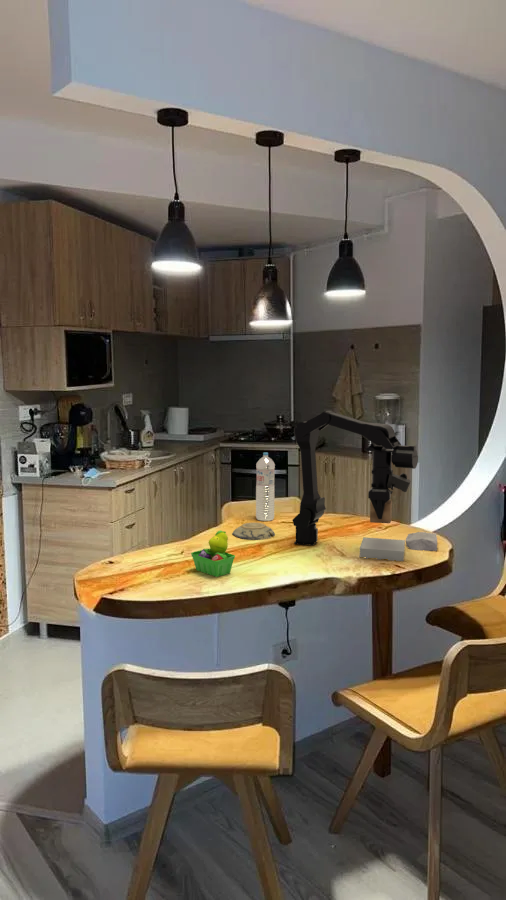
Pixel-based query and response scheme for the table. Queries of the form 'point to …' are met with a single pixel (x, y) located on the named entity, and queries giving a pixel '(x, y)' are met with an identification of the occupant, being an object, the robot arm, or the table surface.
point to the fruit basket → (214, 556)
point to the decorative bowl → (253, 531)
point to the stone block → (422, 541)
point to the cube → (386, 514)
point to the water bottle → (265, 489)
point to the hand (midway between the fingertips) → (380, 516)
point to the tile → (382, 548)
